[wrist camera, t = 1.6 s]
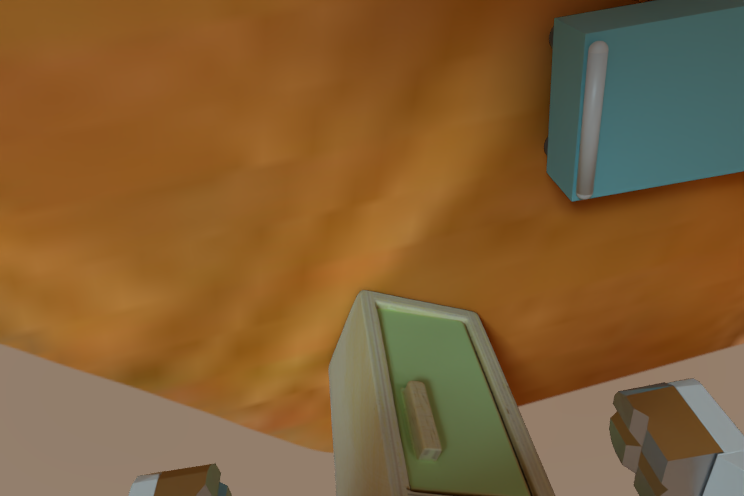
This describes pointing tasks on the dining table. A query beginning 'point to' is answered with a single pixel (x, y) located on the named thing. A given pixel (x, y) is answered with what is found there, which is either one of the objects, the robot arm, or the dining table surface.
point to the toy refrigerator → (425, 406)
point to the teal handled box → (646, 96)
